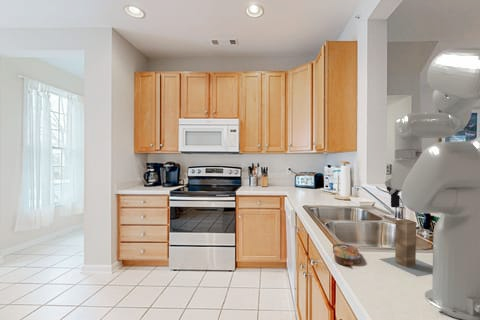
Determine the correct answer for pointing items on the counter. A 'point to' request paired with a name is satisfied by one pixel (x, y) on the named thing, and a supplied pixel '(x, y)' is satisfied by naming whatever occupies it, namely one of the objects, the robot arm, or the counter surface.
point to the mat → (412, 267)
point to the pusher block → (405, 243)
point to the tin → (346, 254)
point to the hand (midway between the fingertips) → (408, 209)
